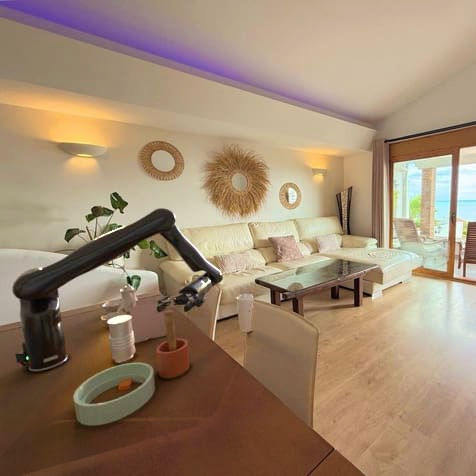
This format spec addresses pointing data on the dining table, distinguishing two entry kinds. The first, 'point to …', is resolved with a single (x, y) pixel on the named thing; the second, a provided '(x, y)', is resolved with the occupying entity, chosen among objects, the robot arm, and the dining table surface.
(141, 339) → the greeting card
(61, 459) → the dining table surface
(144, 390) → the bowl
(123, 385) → the carrot chunk
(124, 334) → the candle
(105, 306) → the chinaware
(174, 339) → the stirring stick
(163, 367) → the crock
